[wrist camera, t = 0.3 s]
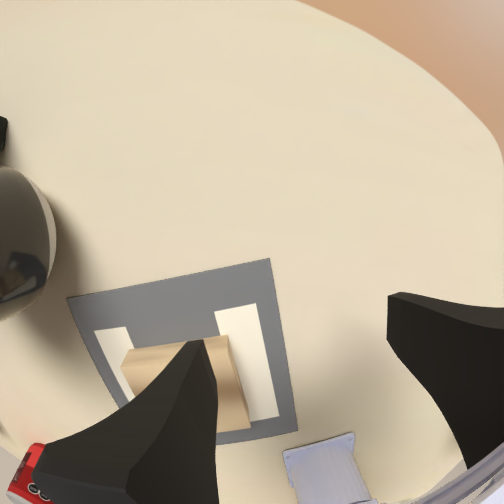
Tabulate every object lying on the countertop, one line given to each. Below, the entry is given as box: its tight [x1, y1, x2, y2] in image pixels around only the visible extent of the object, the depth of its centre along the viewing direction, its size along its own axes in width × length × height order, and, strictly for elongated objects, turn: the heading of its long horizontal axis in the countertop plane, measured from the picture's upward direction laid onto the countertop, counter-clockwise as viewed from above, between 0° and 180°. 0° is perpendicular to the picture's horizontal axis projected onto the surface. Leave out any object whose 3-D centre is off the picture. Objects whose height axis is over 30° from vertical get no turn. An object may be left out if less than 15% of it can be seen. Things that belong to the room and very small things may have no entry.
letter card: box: [67, 258, 298, 445], centre depth 21 cm, size 18×16×1 cm
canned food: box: [6, 443, 54, 504], centre depth 18 cm, size 8×8×11 cm
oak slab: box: [120, 334, 251, 433], centre depth 20 cm, size 8×8×2 cm
